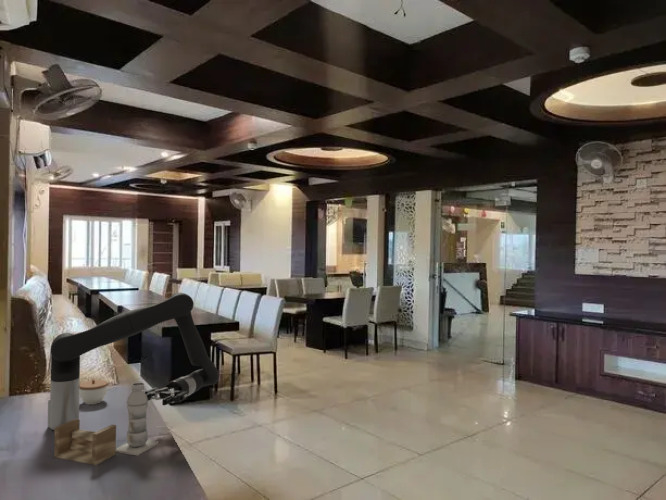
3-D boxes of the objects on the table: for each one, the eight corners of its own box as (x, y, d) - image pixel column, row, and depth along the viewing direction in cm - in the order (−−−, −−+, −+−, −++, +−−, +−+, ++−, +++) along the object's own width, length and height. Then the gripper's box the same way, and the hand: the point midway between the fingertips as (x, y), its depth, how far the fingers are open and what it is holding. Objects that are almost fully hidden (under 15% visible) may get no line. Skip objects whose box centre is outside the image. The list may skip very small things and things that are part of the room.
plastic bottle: (140, 450, 155) (141, 387, 155) (121, 448, 156) (122, 386, 156) (152, 442, 161) (153, 382, 161) (133, 440, 163) (134, 380, 163)
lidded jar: (82, 399, 207) (82, 377, 207) (109, 397, 210) (110, 375, 210) (75, 407, 197) (75, 383, 197) (104, 405, 199) (104, 382, 199)
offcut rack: (54, 457, 150) (54, 427, 150) (75, 447, 158) (75, 418, 158) (96, 465, 146) (96, 434, 146) (115, 454, 153) (116, 425, 153)
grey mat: (113, 451, 155) (113, 449, 155) (135, 439, 165) (135, 438, 165) (137, 455, 153) (137, 453, 153) (157, 443, 162) (157, 441, 162)
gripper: (165, 376, 184) (135, 388, 168) (197, 380, 179) (170, 392, 164) (164, 396, 184) (135, 409, 168) (197, 400, 179) (170, 414, 164)
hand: (152, 401), depth 166 cm, fingers open, 8 cm apart
